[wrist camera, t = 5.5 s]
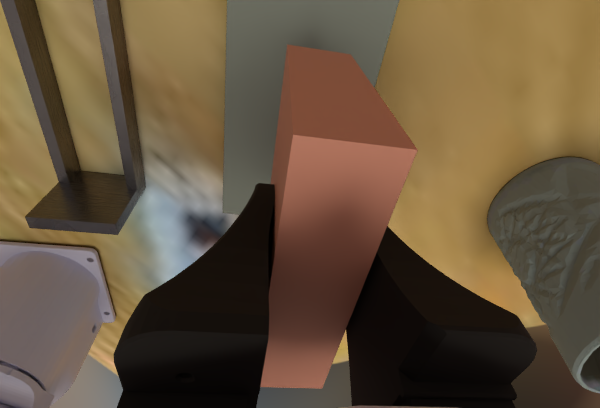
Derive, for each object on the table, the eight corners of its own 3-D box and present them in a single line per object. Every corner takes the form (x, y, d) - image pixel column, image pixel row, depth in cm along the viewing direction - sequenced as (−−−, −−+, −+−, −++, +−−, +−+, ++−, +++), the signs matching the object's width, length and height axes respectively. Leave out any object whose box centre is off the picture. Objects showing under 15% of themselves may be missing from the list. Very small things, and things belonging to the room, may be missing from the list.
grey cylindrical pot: (637, 188, 25) (853, 329, 16) (522, 267, 30) (635, 411, 21) (562, 121, 22) (783, 252, 12) (446, 223, 27) (539, 374, 17)
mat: (335, 218, 26) (336, 223, 25) (223, 207, 25) (222, 212, 24) (404, -32, 17) (408, -32, 16) (230, -66, 15) (228, -67, 15)
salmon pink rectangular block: (308, 241, 19) (321, 388, 12) (264, 237, 19) (254, 386, 12) (350, 54, 13) (417, 150, 7) (287, 44, 13) (293, 134, 6)
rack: (145, 187, 23) (117, 234, 19) (73, 180, 23) (29, 227, 19) (111, -56, 15) (51, -60, 11) (-1, -77, 15) (-105, -89, 11)
